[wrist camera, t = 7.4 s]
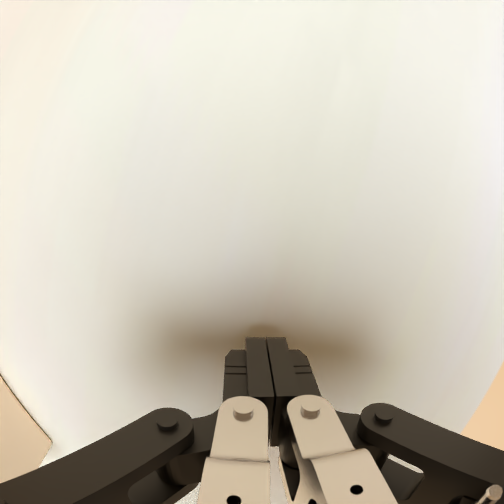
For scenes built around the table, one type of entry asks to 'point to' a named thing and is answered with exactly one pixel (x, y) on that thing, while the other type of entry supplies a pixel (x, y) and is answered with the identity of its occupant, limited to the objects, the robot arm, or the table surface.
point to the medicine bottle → (18, 438)
